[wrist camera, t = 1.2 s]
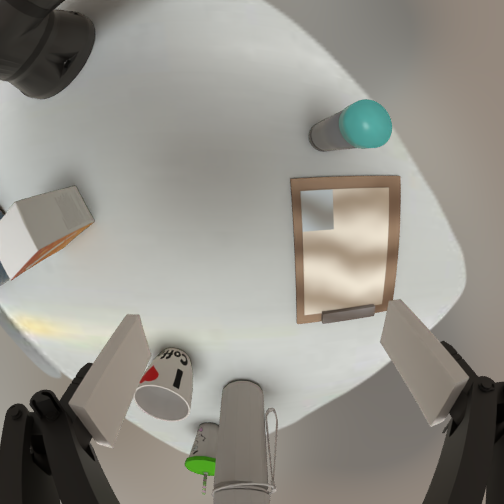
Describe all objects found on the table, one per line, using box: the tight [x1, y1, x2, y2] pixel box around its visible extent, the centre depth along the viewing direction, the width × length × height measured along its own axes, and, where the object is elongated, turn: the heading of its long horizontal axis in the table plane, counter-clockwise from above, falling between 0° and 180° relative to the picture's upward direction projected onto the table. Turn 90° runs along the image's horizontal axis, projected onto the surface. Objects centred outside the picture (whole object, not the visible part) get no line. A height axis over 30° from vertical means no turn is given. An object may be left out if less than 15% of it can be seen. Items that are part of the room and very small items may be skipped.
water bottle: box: [212, 381, 278, 504], centre depth 31 cm, size 9×8×25 cm
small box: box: [0, 186, 94, 280], centre depth 27 cm, size 8×6×13 cm
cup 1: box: [133, 348, 193, 421], centre depth 36 cm, size 8×8×10 cm
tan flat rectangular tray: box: [290, 176, 401, 324], centre depth 34 cm, size 20×15×2 cm
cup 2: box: [185, 423, 219, 495], centre depth 40 cm, size 8×8×15 cm
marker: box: [309, 99, 392, 151], centre depth 24 cm, size 4×4×14 cm
